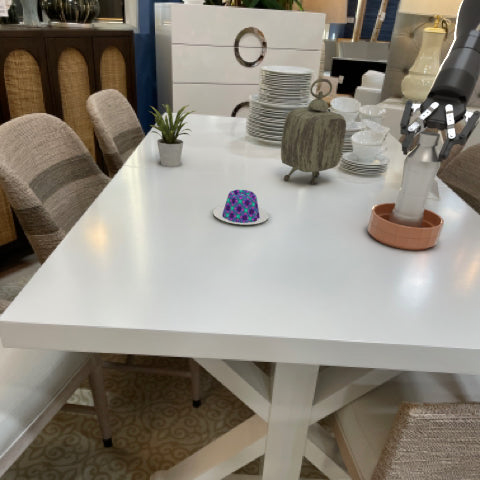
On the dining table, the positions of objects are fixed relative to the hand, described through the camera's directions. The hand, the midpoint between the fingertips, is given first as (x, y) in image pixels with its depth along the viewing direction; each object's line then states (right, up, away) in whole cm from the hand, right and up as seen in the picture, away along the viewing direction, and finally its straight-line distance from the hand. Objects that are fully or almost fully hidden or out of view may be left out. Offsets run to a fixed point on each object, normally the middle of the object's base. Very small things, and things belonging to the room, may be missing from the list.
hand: (422, 155), depth 88 cm
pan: (0, -14, +11) cm, 17 cm away
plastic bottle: (0, -13, +10) cm, 17 cm away
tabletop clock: (-16, +6, +39) cm, 43 cm away
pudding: (-34, -9, +14) cm, 38 cm away
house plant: (-52, +13, +44) cm, 70 cm away
